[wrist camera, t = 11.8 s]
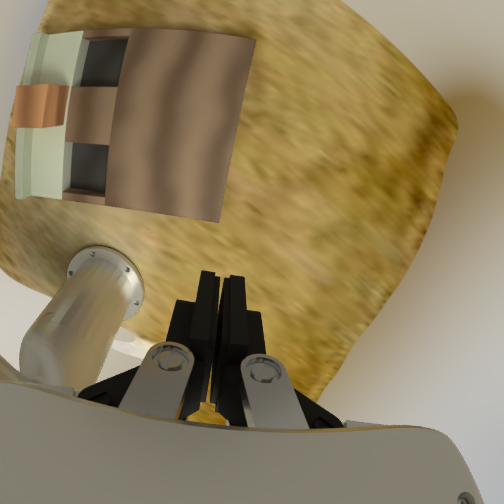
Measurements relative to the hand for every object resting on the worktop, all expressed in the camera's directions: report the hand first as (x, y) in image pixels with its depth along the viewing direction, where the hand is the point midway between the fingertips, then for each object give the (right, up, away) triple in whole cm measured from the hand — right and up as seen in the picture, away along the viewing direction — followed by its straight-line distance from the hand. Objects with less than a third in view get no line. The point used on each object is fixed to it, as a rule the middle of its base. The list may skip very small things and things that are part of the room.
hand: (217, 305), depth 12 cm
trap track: (-11, +18, +21) cm, 30 cm away
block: (-23, +20, +16) cm, 35 cm away
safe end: (-24, +20, +19) cm, 37 cm away
